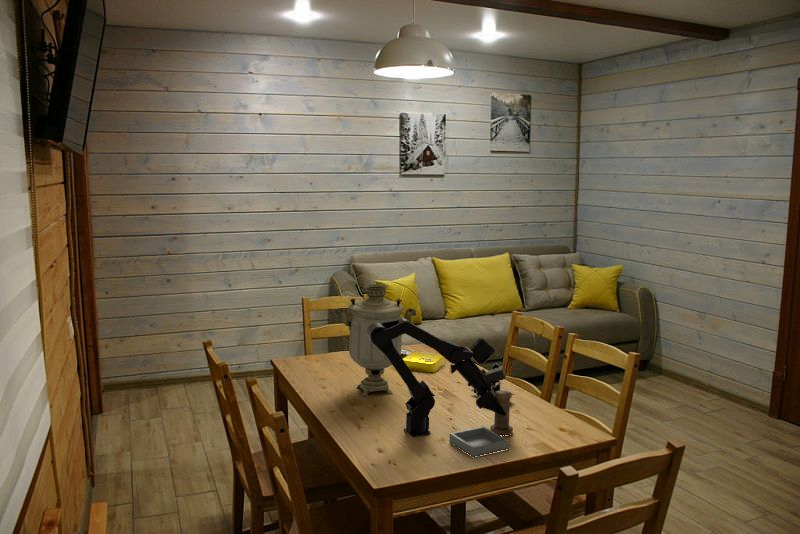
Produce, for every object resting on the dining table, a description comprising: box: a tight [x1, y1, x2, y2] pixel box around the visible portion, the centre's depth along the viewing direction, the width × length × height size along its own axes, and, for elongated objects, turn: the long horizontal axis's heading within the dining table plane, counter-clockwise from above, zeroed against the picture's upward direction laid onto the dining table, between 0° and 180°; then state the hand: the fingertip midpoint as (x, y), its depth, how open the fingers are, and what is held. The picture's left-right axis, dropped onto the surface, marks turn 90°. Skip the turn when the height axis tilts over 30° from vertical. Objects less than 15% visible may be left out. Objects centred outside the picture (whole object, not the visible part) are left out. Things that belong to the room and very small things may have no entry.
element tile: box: [402, 351, 445, 373], centre depth 284 cm, size 15×15×5 cm
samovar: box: [335, 283, 417, 397], centre depth 251 cm, size 30×26×40 cm
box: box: [449, 426, 510, 458], centre depth 200 cm, size 13×13×3 cm
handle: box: [489, 390, 514, 436], centre depth 211 cm, size 7×7×13 cm
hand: (506, 411), depth 210 cm, fingers open, 7 cm apart
